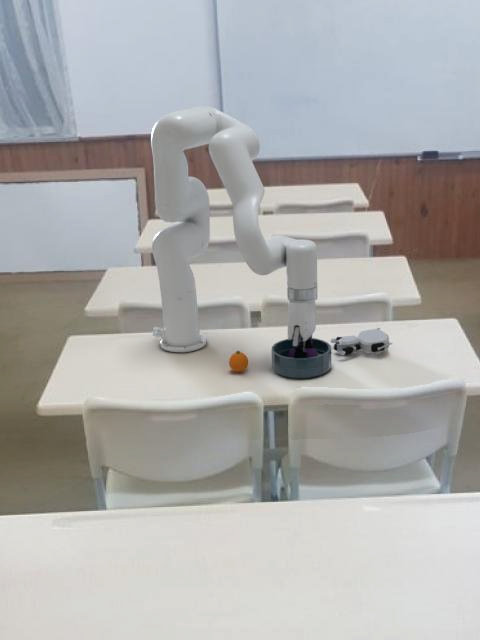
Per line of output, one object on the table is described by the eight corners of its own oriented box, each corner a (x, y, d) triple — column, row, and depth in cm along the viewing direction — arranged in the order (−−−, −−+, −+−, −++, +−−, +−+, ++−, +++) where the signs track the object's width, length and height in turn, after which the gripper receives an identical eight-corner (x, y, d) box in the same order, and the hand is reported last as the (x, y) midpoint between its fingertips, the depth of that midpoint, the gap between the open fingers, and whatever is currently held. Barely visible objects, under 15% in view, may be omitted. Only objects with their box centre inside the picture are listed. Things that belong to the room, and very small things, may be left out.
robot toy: (339, 365, 221) (395, 356, 223) (338, 349, 219) (394, 340, 220) (329, 349, 232) (382, 340, 233) (328, 333, 229) (381, 324, 230)
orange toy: (226, 374, 217) (225, 353, 214) (233, 366, 221) (232, 346, 218) (244, 375, 215) (243, 355, 212) (251, 368, 219) (250, 348, 216)
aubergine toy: (286, 364, 219) (286, 349, 216) (291, 359, 222) (291, 344, 220) (319, 367, 216) (319, 352, 214) (323, 362, 219) (323, 347, 217)
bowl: (264, 376, 215) (263, 355, 212) (283, 355, 227) (282, 335, 224) (321, 382, 210) (321, 361, 207) (337, 360, 222) (337, 340, 219)
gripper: (298, 282, 217) (299, 350, 227) (277, 302, 204) (279, 373, 214) (326, 283, 215) (326, 352, 225) (306, 304, 201) (308, 376, 211)
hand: (303, 362), depth 219 cm, fingers closed on aubergine toy, 4 cm apart
